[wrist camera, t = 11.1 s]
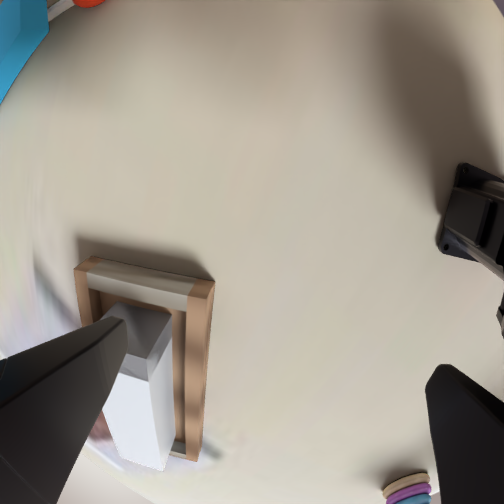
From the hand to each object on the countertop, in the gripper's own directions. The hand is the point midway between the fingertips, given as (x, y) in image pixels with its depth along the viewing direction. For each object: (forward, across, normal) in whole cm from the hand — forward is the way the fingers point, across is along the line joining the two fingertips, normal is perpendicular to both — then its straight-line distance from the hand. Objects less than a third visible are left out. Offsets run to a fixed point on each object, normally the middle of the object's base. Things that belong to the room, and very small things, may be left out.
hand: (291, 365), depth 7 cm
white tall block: (+11, +9, +15) cm, 21 cm away
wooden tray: (+12, +9, +15) cm, 21 cm away
